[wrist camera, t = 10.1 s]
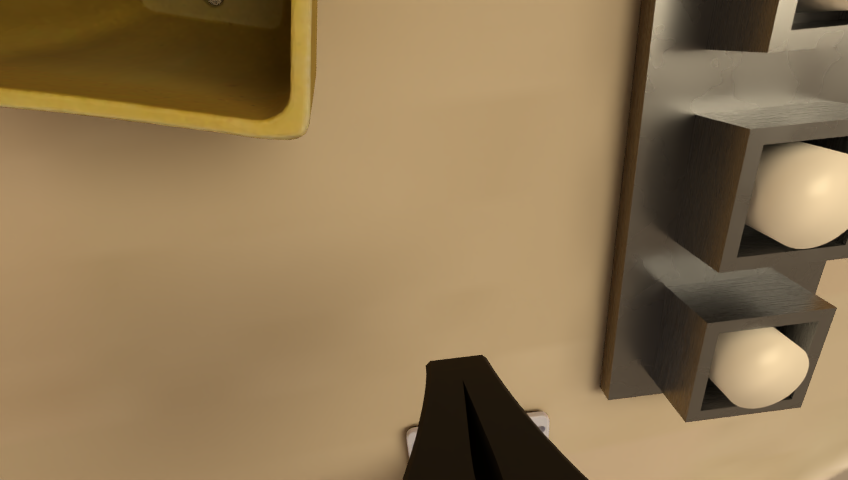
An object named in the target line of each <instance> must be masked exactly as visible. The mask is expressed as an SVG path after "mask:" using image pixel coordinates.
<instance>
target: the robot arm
mask: <svg viewBox="0 0 848 480" xmlns="http://www.w3.org/2000/svg"><path fill="white" fill-rule="evenodd" d="M539 426H541V427H539ZM406 438H407V446H408V453H409V461H408V465H407V468H406V471H405V474H404V477H403V480H588V479H587V478H586V477H585V476H584V475H583V474H582V473H581V472H580V471H579V470H578V469H577V468H576V467H575V466H574V465H573V464H572V463H571V462H570V461H569V460H568V459H567V458H566V457H565V456H564V455H563V454H562V453H561V452H560V451H559V450H558V448H557V447H556V446H555V445H554V444H553V443H552V442H551V441H550V440H549V418H548V415H547V414H546V413H545V412H542V411H538V412H530V413H526V412H525V411H524V410H523V408H522V407H521V406H520V405H519V404H518V402H517V401H516V400H515V399H514V397H513V396H512V395H511V393H510V392H509V391H508V389H507V388H506V387H505V385H504V384H503V382H502V381H501V380H500V378H499V377H498V375H497V374H496V372H495V371H494V369H493V368H492V366H491V365H490V363H489V361H488V360H487V358H486V357H484V356H483V355H477V356H469V357H461V358H452V359H444V360H436V361H430V362H429V363H428V364H427V365H426V388H425V395H424V401H423V407H422V412H421V416H420V421H419V425H418V427H414V428H411V429H409V430H408V431H407V434H406Z"/></svg>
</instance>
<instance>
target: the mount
mask: <svg viewBox="0 0 848 480" xmlns="http://www.w3.org/2000/svg"><path fill="white" fill-rule="evenodd" d="M797 2H798V0H642V1H641V11H640V20H639V29H638V38H637V48H636V57H635V66H634V76H633V85H632V94H631V104H630V113H629V122H628V132H627V141H626V150H625V160H624V169H623V178H622V187H621V197H620V206H619V215H618V225H617V234H616V243H615V253H614V262H613V271H612V281H611V290H610V299H609V309H608V318H607V327H606V336H605V346H604V355H603V364H602V374H601V383H600V387H601V389H602V391H603V392H604V394H605V396H606V397H607V399H608V400H613V399H621V398H628V397H636V396H644V395H652V394H660V393H663V394H664V395H665V396H666V398H667V399H668V400H669V402H670V403H671V404H672V405H673V407H674V408H675V409H676V411H677V412H678V413H679V414H680V416H681V417H682V418H683V420H684V421H685V422H692V421H699V420H707V419H715V418H722V417H730V416H738V415H745V414H753V413H761V412H768V411H776V410H784V409H791V408H799V407H801V405H802V402H803V400H804V397H805V394H806V391H807V389H808V386H809V383H810V380H811V378H812V375H813V372H814V369H815V367H816V364H817V361H818V358H819V356H820V353H821V350H822V347H823V345H824V342H825V339H826V336H827V334H828V331H829V328H830V325H831V323H832V320H833V317H834V314H835V311H836V309H837V308H836V307H835V306H833V305H832V304H830V303H828V302H827V301H825V300H823V299H822V298H820V297H818V296H817V295H815V293H816V290H817V287H818V284H819V281H820V278H821V275H822V272H823V269H824V266H825V263H826V260H834V259H843V258H848V229H847V230H846V231H845V232H843V233H842V234H841V235H839V236H838V237H836V238H835V239H833V240H831V241H829V242H827V243H825V244H823V245H820V246H817V247H814V248H808V249H795V248H790V247H788V246H785V245H783V244H782V243H780V242H778V241H776V240H774V239H772V238H770V237H768V236H767V235H765V234H763V233H761V232H759V231H757V230H755V229H753V228H751V227H750V226H748V225H746V224H745V221H746V217H747V213H748V208H749V204H750V200H751V196H752V191H753V187H754V183H755V179H756V175H757V170H758V166H759V162H760V158H761V154H762V149H763V145H767V144H777V143H786V142H796V141H800V142H804V143H808V144H812V145H816V146H819V147H823V148H827V149H831V150H835V151H838V152H842V153H846V154H848V10H845V11H824V12H802V13H795V10H796V6H797ZM768 327H774V328H775V329H777V330H778V331H779V332H781V333H782V334H783V335H785V336H786V337H787V338H789V339H790V340H791V341H793V342H794V343H795V344H797V345H798V346H799V347H800V348H802V349H803V350H804V351H805V352H806V354H807V356H808V359H809V368H808V372H807V374H806V376H805V378H804V380H803V381H802V383H801V384H800V385H799V386H798V388H797V389H796V390H794V391H793V392H792V393H791V394H790V395H788V396H787V397H786V398H784V399H782V400H781V401H779V402H777V403H774V404H772V405H769V406H766V407H762V408H755V409H748V408H742V407H739V406H737V405H735V404H733V403H732V402H731V401H730V400H729V399H728V398H727V397H726V395H725V394H724V393H723V392H722V391H721V390H720V389H719V388H718V387H717V386H716V385H715V384H714V383H713V382H712V381H711V380H710V379H709V373H710V368H711V364H712V360H713V356H714V352H715V347H716V343H717V339H718V335H719V333H727V332H735V331H744V330H752V329H760V328H768Z"/></svg>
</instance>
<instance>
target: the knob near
mask: <svg viewBox="0 0 848 480" xmlns="http://www.w3.org/2000/svg"><path fill="white" fill-rule="evenodd" d="M845 10H848V0H798V2H797V6H796V10H795V13H802V12H824V11H845Z"/></svg>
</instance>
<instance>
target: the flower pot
mask: <svg viewBox="0 0 848 480" xmlns="http://www.w3.org/2000/svg"><path fill="white" fill-rule="evenodd" d="M316 48H317V0H222V2H221V3H220V4H219V5H212V4H211V3H210V2H209V1H208V0H0V107H5V108H16V109H28V110H40V111H49V112H60V113H70V114H78V115H85V116H94V117H103V118H111V119H120V120H126V121H133V122H141V123H150V124H158V125H165V126H171V127H180V128H187V129H196V130H203V131H211V132H219V133H226V134H233V135H238V136H245V137H253V138H262V139H276V140H292V139H296V138H299V137H301V136H303V135H304V134H305V133H306V131H307V128H308V126H309V123H310V114H311V107H312V101H313V94H314V86H315V78H316Z"/></svg>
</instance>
